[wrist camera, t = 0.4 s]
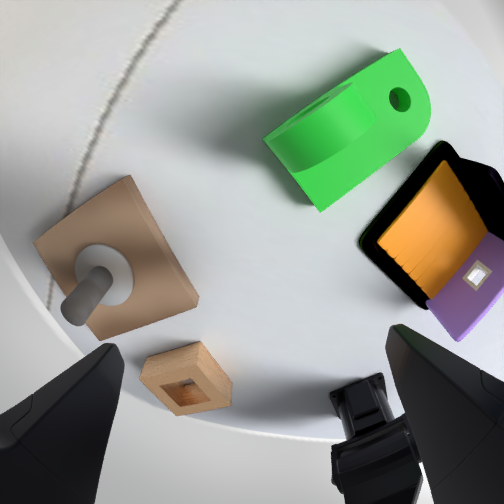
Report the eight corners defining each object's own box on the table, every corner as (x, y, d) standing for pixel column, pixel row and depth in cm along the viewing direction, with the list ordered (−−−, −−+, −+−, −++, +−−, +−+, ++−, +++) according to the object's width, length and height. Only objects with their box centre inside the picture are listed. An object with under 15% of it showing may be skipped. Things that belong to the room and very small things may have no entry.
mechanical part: (314, 205, 20) (349, 248, 13) (261, 138, 19) (270, 144, 11) (428, 118, 17) (499, 124, 10) (387, 53, 16) (449, 28, 8)
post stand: (199, 296, 23) (184, 356, 17) (105, 331, 25) (77, 382, 18) (130, 174, 19) (81, 198, 13) (42, 236, 21) (-6, 271, 14)
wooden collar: (232, 382, 28) (231, 405, 25) (180, 395, 28) (176, 416, 26) (200, 341, 25) (196, 364, 22) (146, 357, 26) (138, 378, 23)
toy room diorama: (495, 224, 21) (539, 252, 15) (423, 310, 25) (456, 354, 19) (440, 133, 18) (498, 143, 12) (351, 241, 22) (387, 285, 15)
